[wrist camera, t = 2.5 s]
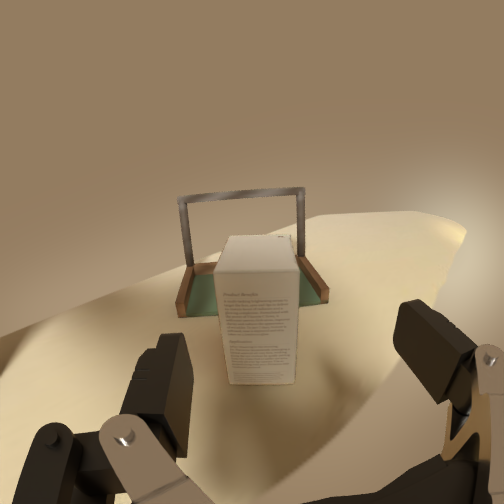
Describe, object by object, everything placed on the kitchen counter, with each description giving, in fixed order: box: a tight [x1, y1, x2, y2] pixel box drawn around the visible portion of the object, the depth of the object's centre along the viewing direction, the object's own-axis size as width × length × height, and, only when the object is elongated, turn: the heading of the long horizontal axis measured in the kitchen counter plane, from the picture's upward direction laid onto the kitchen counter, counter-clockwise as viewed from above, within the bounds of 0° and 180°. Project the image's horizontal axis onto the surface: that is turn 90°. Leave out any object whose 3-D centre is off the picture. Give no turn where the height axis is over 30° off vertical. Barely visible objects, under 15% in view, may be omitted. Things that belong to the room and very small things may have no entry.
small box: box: [213, 234, 300, 385], centre depth 23 cm, size 8×6×10 cm
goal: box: [175, 187, 329, 318], centre depth 35 cm, size 18×12×12 cm, turn 95°
